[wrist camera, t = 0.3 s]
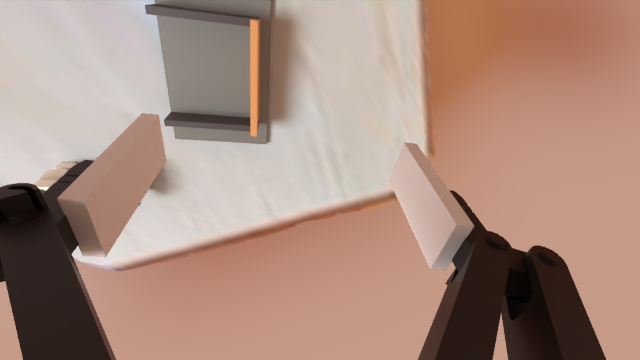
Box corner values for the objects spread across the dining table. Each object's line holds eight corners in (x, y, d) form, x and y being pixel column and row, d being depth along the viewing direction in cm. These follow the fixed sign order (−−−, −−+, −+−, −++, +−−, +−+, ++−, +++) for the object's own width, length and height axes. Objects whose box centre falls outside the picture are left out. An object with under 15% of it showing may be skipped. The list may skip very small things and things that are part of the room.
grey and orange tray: (152, -30, 32) (132, -33, 28) (271, -13, 34) (269, -13, 30) (176, 136, 43) (165, 152, 39) (266, 142, 45) (265, 158, 41)
